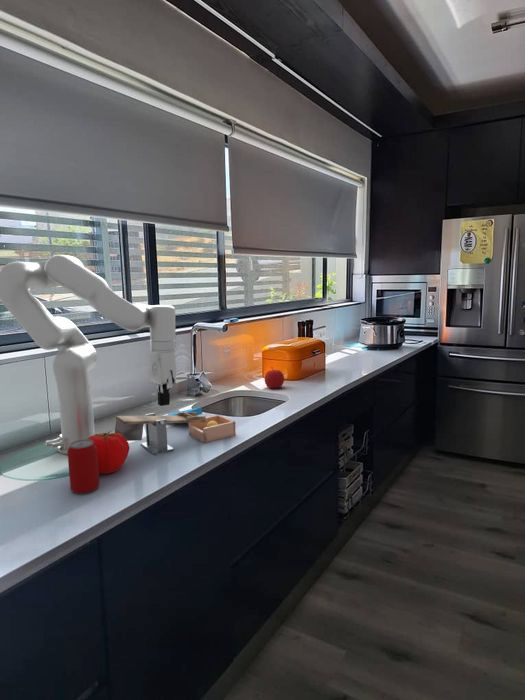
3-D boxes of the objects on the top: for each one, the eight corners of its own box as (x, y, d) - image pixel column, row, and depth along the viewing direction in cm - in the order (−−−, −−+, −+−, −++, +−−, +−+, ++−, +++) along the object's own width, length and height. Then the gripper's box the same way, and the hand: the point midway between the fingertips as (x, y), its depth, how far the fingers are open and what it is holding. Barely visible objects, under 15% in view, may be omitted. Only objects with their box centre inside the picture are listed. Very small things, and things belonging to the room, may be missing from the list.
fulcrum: (155, 455, 139) (153, 422, 138) (141, 444, 148) (139, 414, 147) (173, 450, 143) (172, 419, 141) (158, 440, 152) (157, 411, 150)
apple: (273, 391, 215) (272, 369, 214) (260, 387, 222) (260, 367, 221) (288, 387, 221) (287, 366, 220) (275, 384, 228) (275, 364, 226)
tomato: (99, 484, 120) (96, 444, 119) (71, 473, 127) (67, 435, 126) (140, 466, 131) (138, 429, 129) (112, 457, 138) (109, 422, 136)
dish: (204, 442, 149) (204, 428, 148) (189, 434, 158) (188, 421, 157) (235, 434, 156) (235, 421, 155) (219, 427, 164) (218, 414, 164)
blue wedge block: (164, 436, 171) (201, 430, 161) (159, 417, 171) (196, 410, 161) (177, 430, 176) (213, 424, 166) (172, 412, 176) (208, 405, 167)
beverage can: (103, 483, 121) (99, 438, 119) (94, 495, 114) (91, 447, 112) (76, 484, 120) (72, 438, 119) (66, 496, 114) (62, 448, 112)
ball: (222, 430, 156) (212, 436, 154) (216, 427, 160) (206, 433, 158) (218, 420, 155) (208, 425, 153) (212, 417, 158) (202, 423, 156)
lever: (122, 441, 135) (124, 417, 135) (114, 435, 141) (116, 412, 140) (203, 437, 151) (205, 416, 150) (193, 432, 156) (195, 411, 156)
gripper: (141, 343, 147) (143, 401, 150) (161, 350, 135) (162, 412, 138) (164, 342, 151) (165, 398, 154) (185, 348, 139) (185, 408, 142)
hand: (163, 404), depth 146 cm, fingers closed
